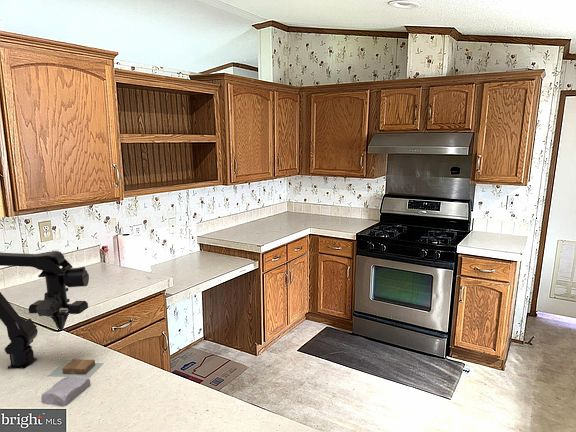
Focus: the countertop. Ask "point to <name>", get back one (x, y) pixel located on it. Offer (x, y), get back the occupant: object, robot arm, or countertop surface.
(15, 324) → the robot arm
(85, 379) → the stone block
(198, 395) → the countertop surface
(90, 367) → the walnut tile
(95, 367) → the rubber mat
